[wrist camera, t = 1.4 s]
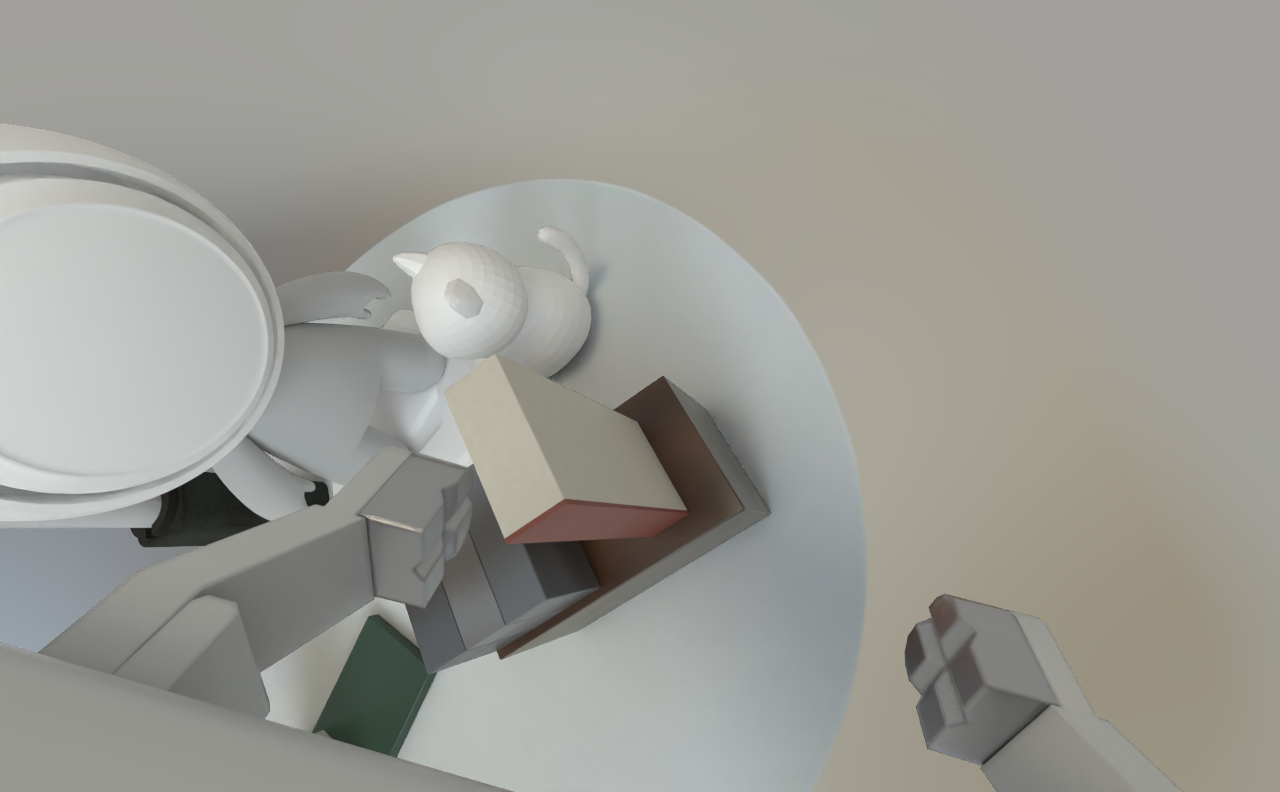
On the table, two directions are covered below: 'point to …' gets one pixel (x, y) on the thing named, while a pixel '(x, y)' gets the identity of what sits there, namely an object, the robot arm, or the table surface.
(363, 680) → the green book holder
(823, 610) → the table surface
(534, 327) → the cat figurine
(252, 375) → the white toy figurine
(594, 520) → the white book
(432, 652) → the grey stand
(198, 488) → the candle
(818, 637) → the table surface
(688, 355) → the table surface
